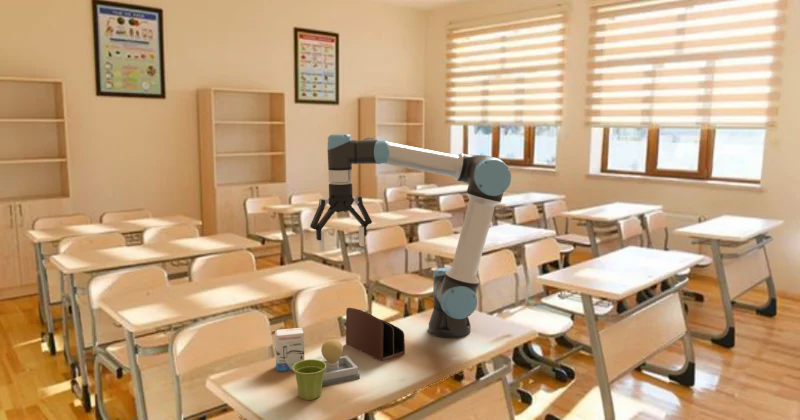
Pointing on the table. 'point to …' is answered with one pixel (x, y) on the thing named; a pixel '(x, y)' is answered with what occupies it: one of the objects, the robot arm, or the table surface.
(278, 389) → the table surface
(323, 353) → the light bulb
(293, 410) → the table surface
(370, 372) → the table surface
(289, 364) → the ink box
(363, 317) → the letter holder
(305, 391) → the plant pot
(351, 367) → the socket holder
